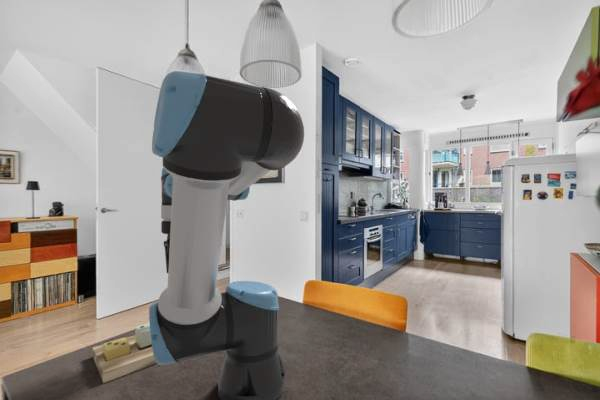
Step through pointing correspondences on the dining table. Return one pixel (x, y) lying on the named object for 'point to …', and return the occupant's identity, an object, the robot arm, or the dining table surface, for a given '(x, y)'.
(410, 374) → the dining table surface
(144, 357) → the board
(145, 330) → the tile two
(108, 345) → the tile three
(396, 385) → the dining table surface
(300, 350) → the dining table surface
